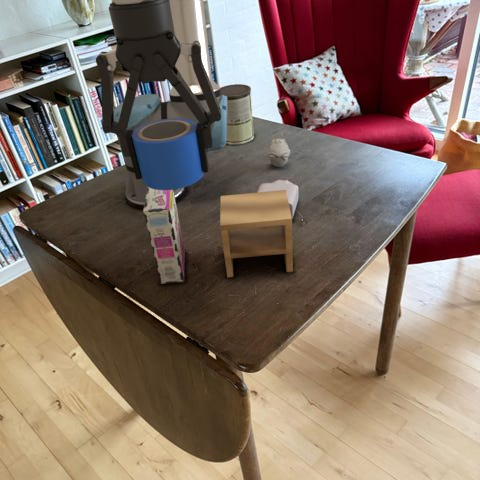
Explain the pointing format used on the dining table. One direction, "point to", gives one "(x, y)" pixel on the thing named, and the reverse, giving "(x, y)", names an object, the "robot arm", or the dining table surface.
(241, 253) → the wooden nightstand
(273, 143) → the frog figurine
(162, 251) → the candy bar box
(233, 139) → the coffee can
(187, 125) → the tape roll
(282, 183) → the charger
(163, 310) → the dining table surface
